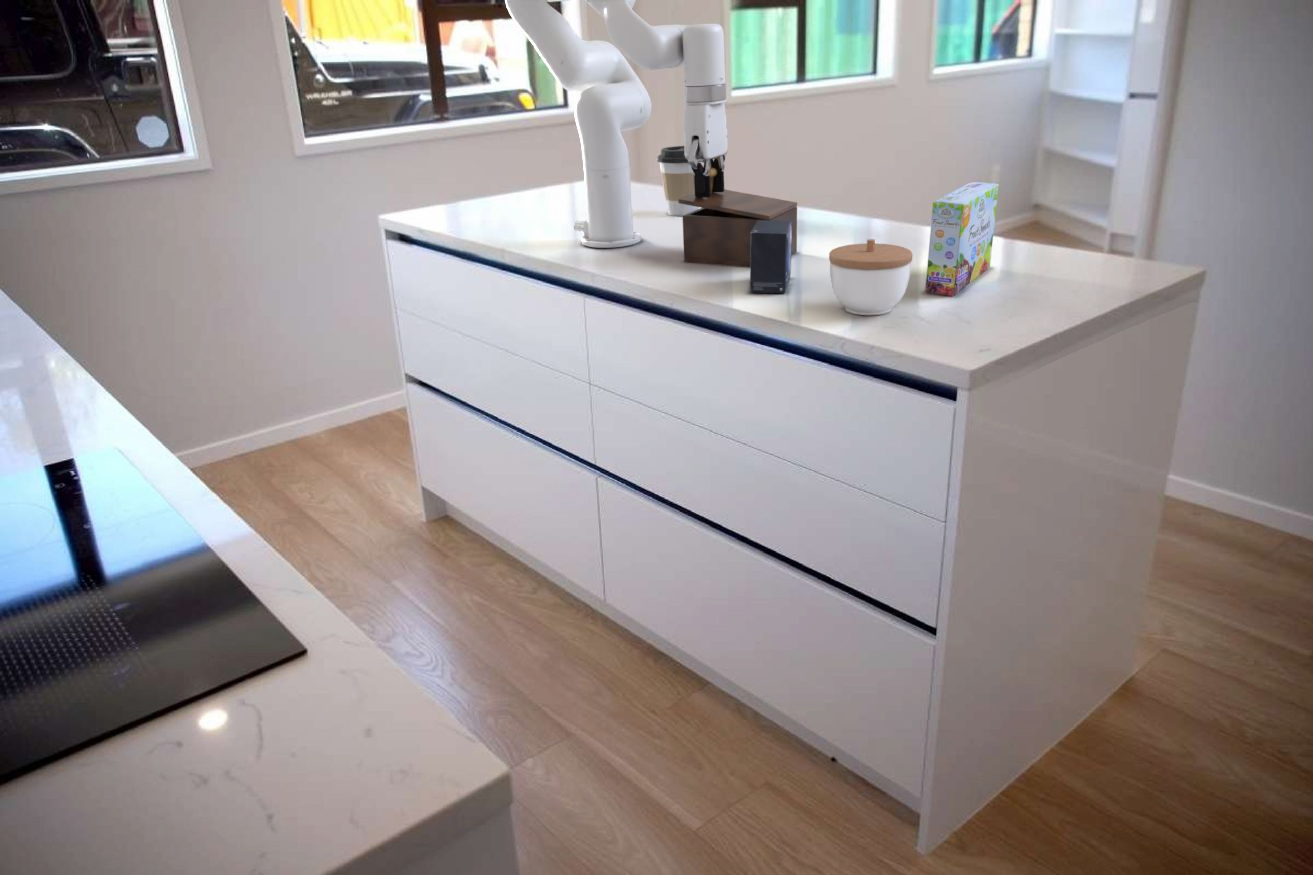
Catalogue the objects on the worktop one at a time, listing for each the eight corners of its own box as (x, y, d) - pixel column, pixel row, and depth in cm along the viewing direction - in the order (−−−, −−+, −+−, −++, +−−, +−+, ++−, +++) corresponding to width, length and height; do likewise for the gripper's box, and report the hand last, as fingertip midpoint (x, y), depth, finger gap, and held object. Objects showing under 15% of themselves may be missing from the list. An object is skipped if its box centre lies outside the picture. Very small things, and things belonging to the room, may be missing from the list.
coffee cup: (677, 207, 245) (674, 144, 240) (716, 210, 239) (714, 146, 233) (649, 215, 237) (646, 150, 231) (689, 219, 231) (687, 152, 225)
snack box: (957, 297, 161) (964, 203, 155) (923, 293, 164) (929, 201, 158) (992, 267, 178) (1000, 181, 172) (961, 265, 181) (967, 180, 175)
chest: (684, 261, 193) (682, 215, 189) (715, 246, 204) (714, 202, 200) (769, 269, 184) (769, 220, 181) (796, 252, 195) (797, 207, 192)
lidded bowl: (820, 301, 163) (821, 233, 159) (895, 296, 164) (899, 229, 159) (838, 323, 152) (840, 251, 147) (919, 317, 152) (924, 246, 148)
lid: (678, 203, 189) (680, 173, 186) (710, 190, 200) (712, 162, 197) (768, 220, 181) (772, 189, 178) (797, 206, 192) (800, 177, 189)
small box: (787, 294, 168) (787, 232, 164) (748, 294, 169) (748, 232, 165) (792, 278, 177) (792, 219, 173) (755, 278, 179) (755, 219, 174)
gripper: (707, 92, 194) (711, 187, 201) (666, 100, 180) (672, 202, 187) (742, 91, 190) (745, 187, 197) (703, 99, 177) (707, 202, 184)
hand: (709, 193), depth 192 cm, fingers closed on lid, 5 cm apart
